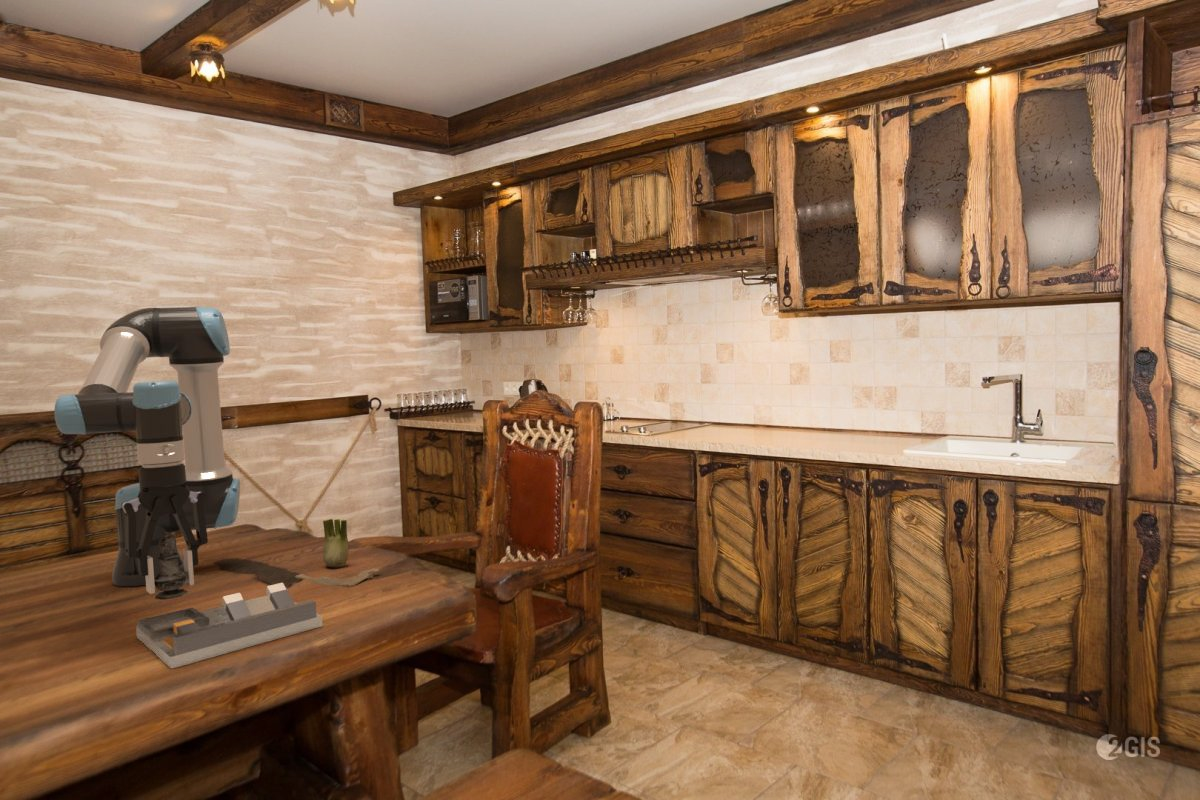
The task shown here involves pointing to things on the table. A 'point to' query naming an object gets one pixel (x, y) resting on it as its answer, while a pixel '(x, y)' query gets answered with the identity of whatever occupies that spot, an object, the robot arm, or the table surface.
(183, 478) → the robot arm
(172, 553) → the stone stupa figurine
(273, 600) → the block
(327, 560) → the fennel bulb
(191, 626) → the block
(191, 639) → the panel
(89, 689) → the table surface
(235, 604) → the block
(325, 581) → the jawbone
